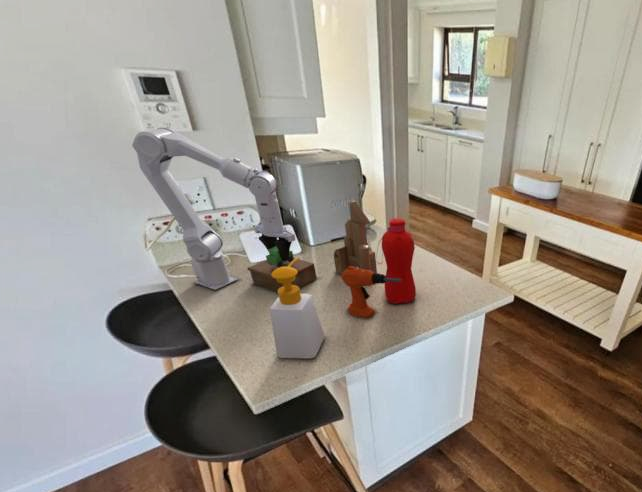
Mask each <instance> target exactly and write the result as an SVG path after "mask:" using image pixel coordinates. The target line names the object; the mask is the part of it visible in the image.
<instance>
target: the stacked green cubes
mask: <svg viewBox="0 0 642 492" xmlns="http://www.w3.org/2000/svg"><path fill="white" fill-rule="evenodd" d="M268 250H269V252H268V253H269V254H266V255H265V258H266V260H267V263H268V264H270V265H276V266H277V267H281V266H282V265H283V263H284V262H286V261H288V262H292V261H293V258H295V257H294V252H293V250H289V259H288V260H286V261H282V259H281V256H280V253H279V251H278V248H277V247H276V246H275V247H273V248H270V249H268ZM268 250H267V251H268Z"/></svg>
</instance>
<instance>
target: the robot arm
mask: <svg viewBox="0 0 642 492" xmlns="http://www.w3.org/2000/svg"><path fill="white" fill-rule="evenodd" d="M131 146H132V148H133V150H135V152H136V155H137V159H138V166H139V168H140V170H141V172H142V173H143V175H144V176H145V178H146V179H147V181H148V182H149V184H151V186H152V188H153V189H154V191H155V192H156V193H157V195H158V196H159V198H160V199H161V201H162V202H163V204H164V205H165V206H166V208H167V210H168V211H169V212H170V214H171V215H172V216H173V219H174V220H175V221H176V222H177V224H178V225H179V227H180V228H181V229H182V232H183V233H182V242H183V243H184V244H185V247H186V252H187V253H188V255H189V257H191V261H190V262H191V263H190V264H191V267H192V270H193V273H194V274H195V277H196V280H195V281H194V283H195V284H197V285H200V286H202V287H205V288H208V289H211V290H214V291H216V290H219V289H221V288H223V287H226V286H228V285H229V284H232V283H234V282H236V281H238V278H237V277H234V276H231V275H230V272H229V270H228V266H227V263H226V260H225V257H224V255H223V251H222V248H223V245H224V240H223V239H222V237H221V236H220V235H219V233H217V232H215V230H214V229H213V228H212V226H210V225H208V224H206V223H205V222H203V221H202V219H201V217H200V216H199V215H198V213H197V212H196V210H195V209H194V207H193V206H192V204H191V202H190V201H189V200H188V198H187V196H186V195H185V194H184V192H183V191H182V189H181V187H180V186H179V184H178V183H177V181H176V180H175V178H174V176H173V175H172V174H171V172H170V171H169V167H170V165H171V162H172V159H173V158H175V157H187V158H190V159H192V160H195V161H197V162H199V163H201V164H204V165H206V166H208V167H210V168H213V169H215V170H218V171H219V173H220V175H221V176H222V177H223V178H225V179H227V180H229V181H231V182H233V183H234V184H238V185H240V186H241V187H243V188H246V189H248V190H249V192H250V193H251V194H252V196H254V199H255V204H256V207H257V213H258V215H259V219H260V224H261V225H256V226H253V228H254V229H253V230H254V233H255V234H261V236H259V237H258V241H260V242H261V243H262V244H263V246H264V248H266V250H267V252H268V253H269V250H268V249H270V248H273V247H275V246H276V247H277V248H278V251H279V253H280V256H281V259H282V261H286V260H288V259H289V250H290V249H291V246H292V243H293V242H295V241H296V235H295V234H294V233H292V232H290V231H289V230H287V227H286V226H284V223H283V219H282V218H283V217H282V214H281V210H280V204H279V201H278V197H277V192H276V188H277V179H276V178H275V176H274V175H272V174H271V173H270V172H269V171H266V170H259V168H257V167H254V168H253V167H251V166H250V165H247V164H245V163H243V162H241V158H238V157H234V158H233V157H227V158H224V157H221V156H220V155H218V154H216V153H214V151H213V152H212V151H211V150H209V149H208V148H205V147H204V146H201V145H200V144H198V143H197V142H194V141H192V140H191V139H189V138H187V137H186V136H185V135H184V134H182V133H180V132H177V131H174V130H172V129H170V128H168V127H164V126H162V127H158V128H156V129H152V130H145V131H139V132H138V133H136V135H135V137H134V139H133V141H132V144H131ZM290 251H291V250H290Z"/></svg>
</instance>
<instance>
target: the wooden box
mask: <svg viewBox="0 0 642 492" xmlns="http://www.w3.org/2000/svg"><path fill="white" fill-rule="evenodd" d="M249 272H250V276H251V279H252V283H253V284H254V285H256V286H259V287H262V288H265V289H269V290H271V291H275V292H277V293H278V289H279V288H280V287H283V286H284V285H283V283H279V282H277V280H276V279H275V278H272V277H269V276H265V275H262V274H259V273H256V272H253V271H249ZM315 280H317V272H316V267H315V265H314V266H313V267H311V268H308V269H306V270H304V271H302V272H300V273H298V274H297V275H295V280H294V281H292V282H291V285H296V286H298V287H299V289H301V288H303V287H305V286H307V285H309V284H310V283H312V282H314V281H315Z"/></svg>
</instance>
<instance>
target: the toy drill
mask: <svg viewBox="0 0 642 492" xmlns="http://www.w3.org/2000/svg"><path fill="white" fill-rule="evenodd" d="M341 280H342V281H343V284H344V285H346V286H347V287H348V288H349V290H350V293H351V303H350V304H349V305H348V313H349V314H350V315H351V316H354V317H358V318H362V319H369V318H371V317H372V316H374V315H375V309H374V307H372V306H370V305H368V303H367V300H368V299H369V298H370V297H371V296H370V295H371V294H369V293H368V292H367V290H366V288H365V287H367V286H368V287H369V286H373V285H374V286H375V285H376V284H377V285H378V284H383V285H384V284H385V282H386V281H387V282H401V281H402V280H401V279H395V278H388V277H386V274H381V273H378V272H377V273H376V272H373V271H371V270H363V269H359V268H358V267H356V268H355V267H353V266H350V267H348V268H347V269H346V270H345V271H344V272H343V273H342V275H341Z"/></svg>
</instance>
